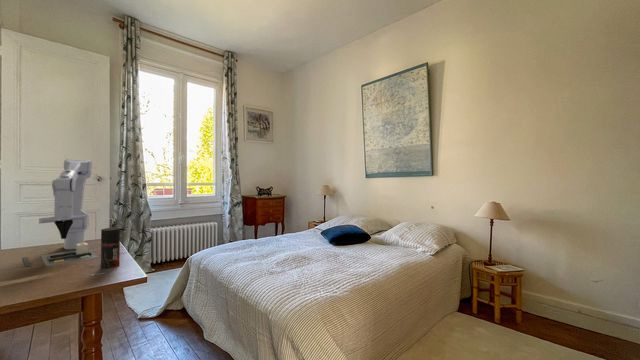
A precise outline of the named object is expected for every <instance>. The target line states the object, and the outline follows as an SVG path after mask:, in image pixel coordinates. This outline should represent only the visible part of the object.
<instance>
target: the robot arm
mask: <svg viewBox="0 0 640 360" xmlns="http://www.w3.org/2000/svg"><path fill="white" fill-rule="evenodd" d="M63 169H64V170H63V171H62V172H61V173H60V175H59V176H58V177H56V178H55V179H52V182H51V188H52V194H53V195H52V196H54V208H53V209H54V214H53V215H54V216H50V217H48V216H47V217H40V218H38V224H41V225H42V224H46V223H48V224H49V223H54V225H55V226H56V227H57V229H58V232H59V235H60V238H61V240H64V242H63V243H64V244H63V245H64V246H63V248H64V249H65V250H76V244H80V243H85V236H86V235H85V232H86V230H87V229H89V225H90V215H89V214H88V212H86V211H84V210H83V204H84V197H85V196H84V195H85V186H86V181H87V179H90V178H91V176H92V173H93V171H92V170H93V163H92V161H91V160H90V159H72V158H71V159H68V158H66V159H64V161H63Z"/></svg>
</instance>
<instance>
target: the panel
mask: <svg viewBox="0 0 640 360" xmlns="http://www.w3.org/2000/svg"><path fill="white" fill-rule="evenodd" d="M40 258H41V259H42V261H43V262H44V265H45V267H51V266H55V265H60V264H61V265H62V264H67V263H72V262H79V261H85V260H92V259H97V258H99V256H98V255H97V254H96V252H94V251H92V250H91V249H90V248H89V247H88V253H84V254H77V255H76V249H73V250H67V251H62V252H55V253H48V254H47V253H46V254H40Z"/></svg>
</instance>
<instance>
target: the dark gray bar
mask: <svg viewBox="0 0 640 360" xmlns="http://www.w3.org/2000/svg"><path fill="white" fill-rule="evenodd" d="M22 261H23V263H24V266H25V268H28V267H31V266H32V264H31V262H30V260H29V257H28V256H24V257H22Z"/></svg>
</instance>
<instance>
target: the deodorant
mask: <svg viewBox="0 0 640 360" xmlns="http://www.w3.org/2000/svg"><path fill="white" fill-rule="evenodd" d="M100 232H101V233H100V269H103V270H107V269H114V268H117V267H120V258H121V257H120V256H121V255H120V254H121V253H120V250H121V249H120V246H121V244H120V243H121V242H120V241H121V235H120V234H121V228H120V227H106V228H102V229H100Z"/></svg>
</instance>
